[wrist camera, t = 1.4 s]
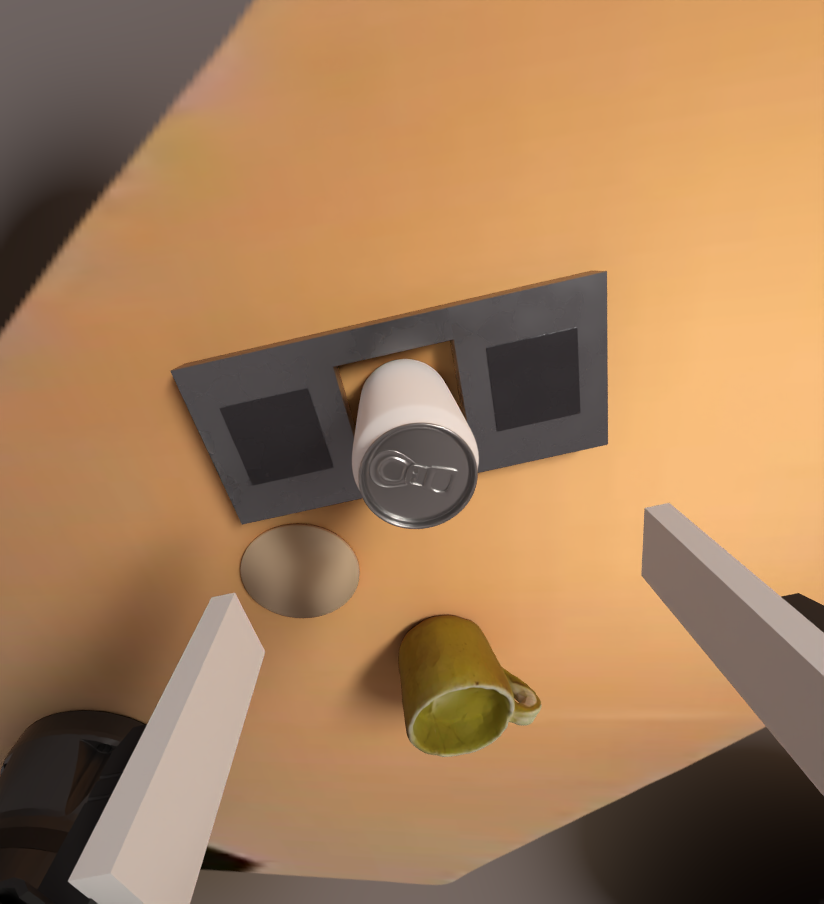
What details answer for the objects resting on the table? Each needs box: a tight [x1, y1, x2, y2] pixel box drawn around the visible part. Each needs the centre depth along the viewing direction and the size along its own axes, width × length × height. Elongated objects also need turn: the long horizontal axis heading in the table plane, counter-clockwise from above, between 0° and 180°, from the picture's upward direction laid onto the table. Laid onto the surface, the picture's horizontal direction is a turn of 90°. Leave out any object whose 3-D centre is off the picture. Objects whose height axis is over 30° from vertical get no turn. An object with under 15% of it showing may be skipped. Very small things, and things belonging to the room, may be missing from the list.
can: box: [352, 359, 479, 529], centre depth 25 cm, size 6×6×12 cm
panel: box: [171, 271, 608, 524], centre depth 29 cm, size 28×12×2 cm, turn 102°
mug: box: [398, 615, 541, 757], centre depth 38 cm, size 12×10×10 cm
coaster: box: [241, 523, 360, 618], centre depth 36 cm, size 10×10×1 cm
